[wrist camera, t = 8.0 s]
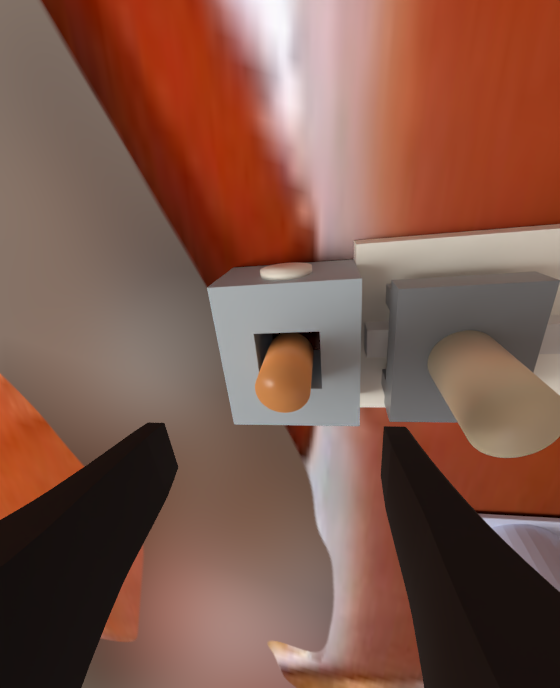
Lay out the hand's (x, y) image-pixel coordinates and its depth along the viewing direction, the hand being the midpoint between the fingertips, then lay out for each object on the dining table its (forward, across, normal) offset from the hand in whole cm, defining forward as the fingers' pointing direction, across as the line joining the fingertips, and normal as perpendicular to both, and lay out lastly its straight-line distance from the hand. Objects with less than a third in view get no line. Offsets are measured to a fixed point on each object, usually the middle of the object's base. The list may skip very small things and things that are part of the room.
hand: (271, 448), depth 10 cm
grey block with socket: (+10, 0, 0) cm, 10 cm away
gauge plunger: (+7, 0, 0) cm, 7 cm away
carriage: (+8, -8, 0) cm, 12 cm away
